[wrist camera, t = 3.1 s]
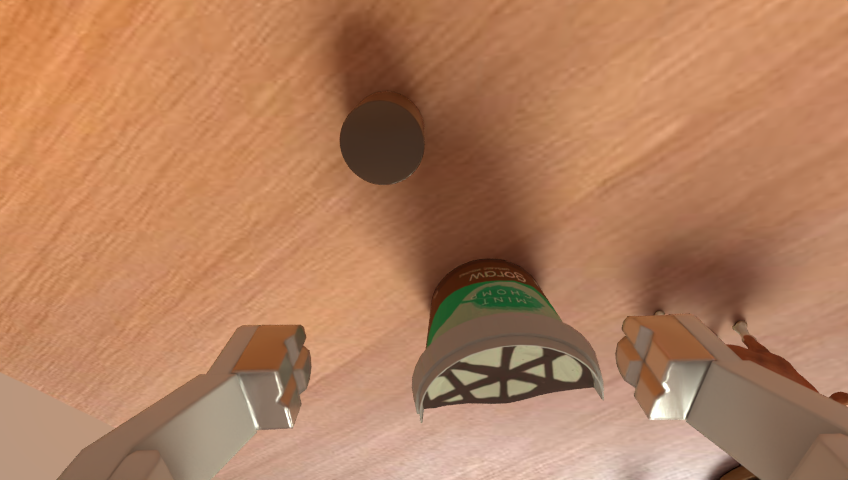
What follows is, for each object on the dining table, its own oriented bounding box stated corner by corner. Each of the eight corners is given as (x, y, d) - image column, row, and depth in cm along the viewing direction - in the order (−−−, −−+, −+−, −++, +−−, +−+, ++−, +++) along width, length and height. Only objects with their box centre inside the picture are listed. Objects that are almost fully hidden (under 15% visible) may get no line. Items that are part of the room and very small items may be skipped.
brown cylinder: (347, 91, 23) (334, 101, 20) (423, 90, 23) (424, 99, 20) (355, 165, 26) (344, 185, 22) (424, 164, 26) (425, 185, 22)
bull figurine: (751, 361, 35) (837, 445, 28) (621, 337, 33) (676, 419, 26) (783, 326, 33) (884, 407, 26) (646, 299, 31) (713, 376, 24)
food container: (558, 233, 28) (619, 321, 19) (559, 297, 31) (613, 399, 22) (400, 259, 29) (390, 353, 20) (415, 318, 32) (412, 424, 23)
